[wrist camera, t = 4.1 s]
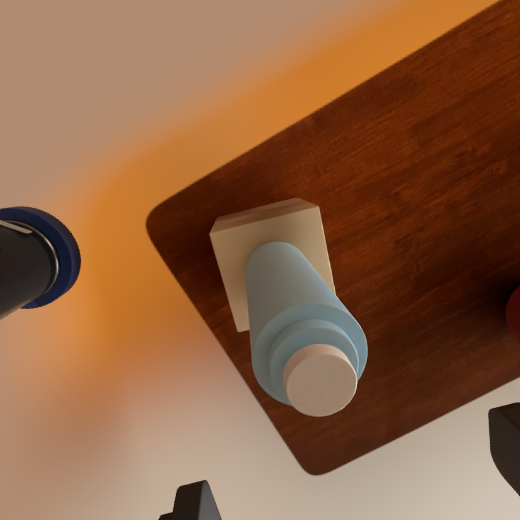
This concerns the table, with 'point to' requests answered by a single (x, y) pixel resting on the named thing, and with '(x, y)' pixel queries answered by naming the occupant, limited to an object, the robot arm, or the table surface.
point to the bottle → (301, 333)
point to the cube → (259, 233)
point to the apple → (514, 313)
